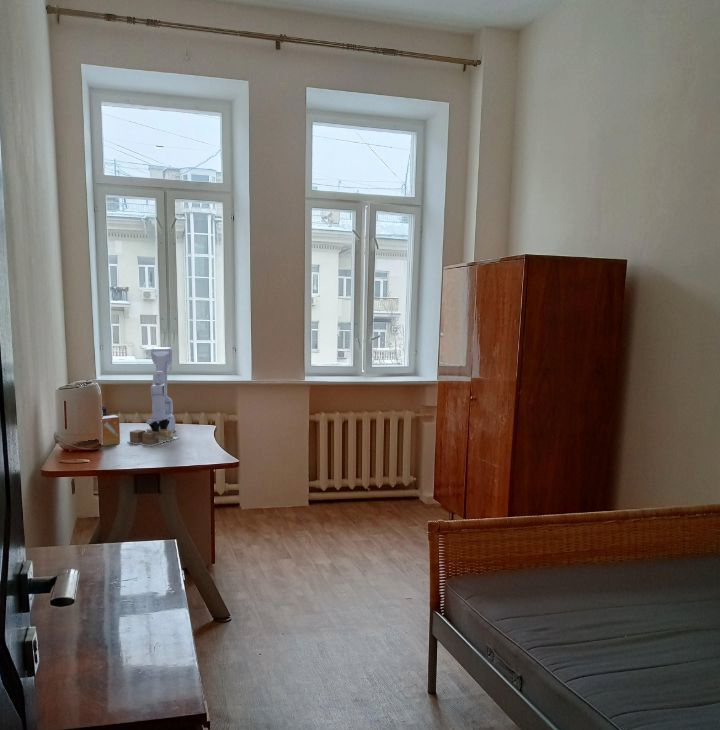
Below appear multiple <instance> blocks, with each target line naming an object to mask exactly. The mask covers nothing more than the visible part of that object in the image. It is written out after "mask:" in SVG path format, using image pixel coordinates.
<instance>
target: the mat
mask: <svg viewBox="0 0 720 730" xmlns="http://www.w3.org/2000/svg"><path fill="white" fill-rule="evenodd" d="M177 437H178V438H179V437H180V436H173V438H172V439H169V440H172V441H174V440H173V439H175V440H177V439H176V438H177ZM179 439H180V438H179ZM169 440H164V439H159V442H158V443H155V444H151V445H150V444H143V442H140V443H135V442H130V440H129V441H127V442H126V443H127V444H132V443H133V444H135V445H140V444H141V445H142V446H148V445H150V446H149V447H154V446H153V445H155V446H158V445H161V444H164V443H163V442H165V443H167V442H166V441H168V442H170V441H169ZM160 443H161V444H160ZM157 444H158V445H157ZM141 445H140V446H141Z"/></svg>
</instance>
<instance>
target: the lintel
mask: <svg viewBox="0 0 720 730" xmlns="http://www.w3.org/2000/svg"><path fill="white" fill-rule="evenodd" d="M145 430H146V432H149V431H152V429H151V427H149V428H147V429H145ZM173 437H174V431H173V430H166V429H159V439H164V440H169V439H172V438H173Z"/></svg>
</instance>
